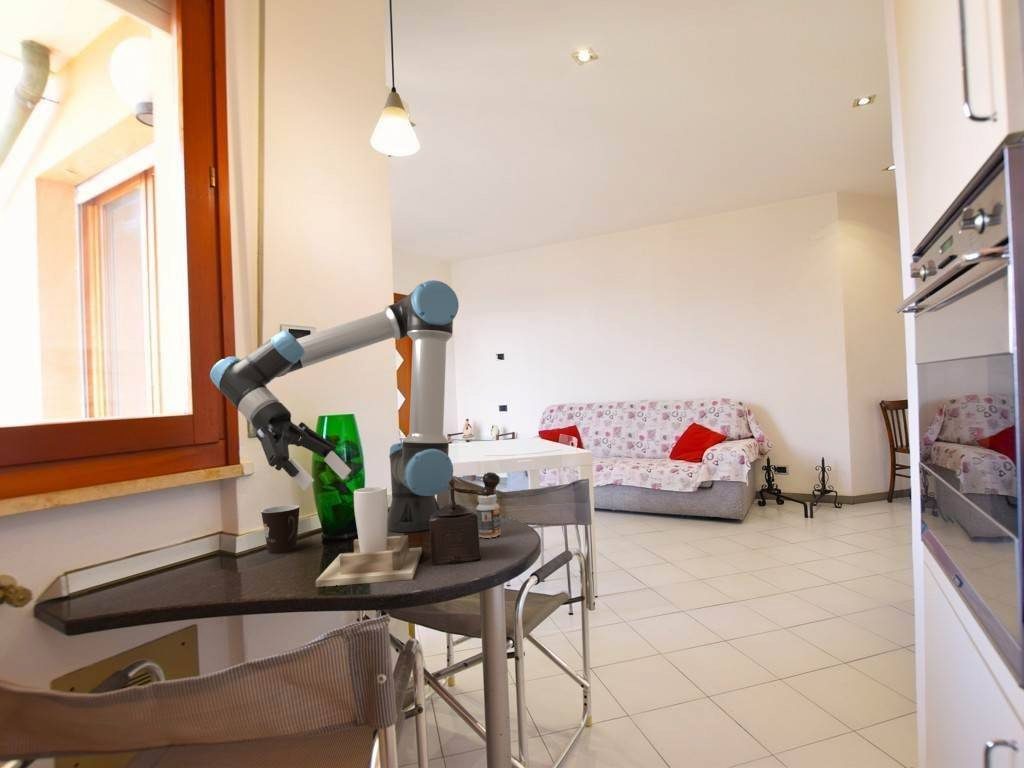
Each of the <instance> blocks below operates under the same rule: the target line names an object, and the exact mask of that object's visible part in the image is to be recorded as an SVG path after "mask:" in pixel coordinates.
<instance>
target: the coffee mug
mask: <svg viewBox="0 0 1024 768" xmlns="http://www.w3.org/2000/svg"><path fill="white" fill-rule="evenodd" d="M300 508H301V507H300V505H297V504H287V505H286V504H285V505H284V504H283V505H277V506H270V507H267V508H264V509H261V510H260V513H261V519H262V524H263V525H262V526H263V530H264V536H265V542H266V543H265V544H266V548H267V553H268V554H269V555H270V554H271V555H275V554H276V555H279V554H285V553H289V552H293V551H295V550H296V549H297V548H298V547H297V546H298V533H299V522H300V521H299V519H300Z"/></svg>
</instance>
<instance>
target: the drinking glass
mask: <svg viewBox="0 0 1024 768" xmlns="http://www.w3.org/2000/svg"><path fill="white" fill-rule="evenodd" d="M388 504H389V502H388V491H387V487H385V486H368V487H363V488H362V487H361V488H357V489H354V490H353V507H354V508H353V510H354V517H355V518H354V519H355V524H356V526H355V527H356V530H357V531H356V532H357V539H358V540H359V547H360V553H365V552H378V551H387V537H388V529H387V521H388V514H389V506H388Z"/></svg>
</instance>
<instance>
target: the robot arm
mask: <svg viewBox="0 0 1024 768" xmlns="http://www.w3.org/2000/svg"><path fill="white" fill-rule="evenodd" d="M458 311H459V298H458V296H457V294H456V292H455V291H454V290H453V289H452V287H451V286H449V285H448V284H447V283H445V282H443V281H440V280H433V279H432V280H426V281H424V282H422V283H420V284H418V285H417V286H415V288H414V289H413V290H412V291H411V292H410V293H409V294H408V295H406V296H405V297H404V298H402V299H401V300H398V301H396V302H395V303H392V304H390V305H387V306H385V307H384V309H383V311H380V312H377V313H374V314H371V315H368V316H365V317H361V318H358V319H355V320H352V321H349V322H346V323H343V324H340V325H336V326H332V327H331V328H326V329H324V330H320V331H318V332H314V333H311V334H308V335H305V336H302V337H299V338H296V337H294V336H293V334H292V333H290V332H289V331H287V330H282V331H280V332H278V333H277V334H276V335H272V336H271V337H270V339H268V340H266V342H264V343H263V344H261V346H259V347H257V348H256V349H255V350H253V351H252V352H251V353H250V354H249V355H247V356H246V357H243V358H242V359H241V358H238V357H237V356H227V357H225V358H223V359H222V358H221V359H220V360H219V361H217V362H216V363H214V365H213V367H212V368H211V370H210V374H209V377H210V380H211V382H212V383H213V384H214V385H215V386H216V388H217V389H218V391H219V392H220V393H221V394H222V395H224V397H225V398H226V399H227V400H228V401H229V402H230V403H231V405H233V406H234V408H236V409H237V410H238V411H239V412H240V413H241V414H242V415H243V416H244V418H245V420H247V421H248V422H249V423H250V424H251V425H252V427H254V429H255V430H256V431H257V432H256V433H255V437H256V438H257V440H258V441H260V444H261V447H262V450H263V452H264V455H265V458H266V460H267V462H268V465H269V467H271V468H274V469H275V470H276V471H280V472H281V470H282V469H283V471H285V472H286V473H287V475H288V476H289V477H291V478H292V480H293V481H294V482H295V483H297V485H298V486H299V487H300V489H302V490H303V491H307V490H308V489H309V488H310V487H311V486H312V484H313V483H314V482H315V479H314V478H313V477H312V476H311V475H310V474H309V473H308V471H306V469H304V468H303V466H302V465H301V464H300V463H299V462H298V461H297V460H296V459H295V458H294V457H293V458H292V457H291V458H290V451H289V446H290V445H292V446H294V445H295V446H296V447H303V448H305V449H307V450H309V451H311V452H312V453H315V454H316V455H318V456H321V457H322V458H324V459H323V461H324V462H325V463H326V465H328V466H329V467H330V468H331V469H332V471H334V473H335V474H336V475H337V476H338V477H339V478H340V479H341V480H346V478H347V477H348V476H349V474H350V473H351V472H352V469H351V468H350V467H349V466H348V465H347V464H346V463H345V462H344V460H342V459H341V458H340V457H339V455H337V454H336V453H335V450H336V449H337V446H336V445H335V444H333V443H332V442H330V440H328V439H327V438H325V437H323V436H322V435H321V434H318V433H317V432H315V431H314V430H313V429H311V428H310V427H309V426H308V425H306V423H305V422H302V421H301V422H300V423H299V424H298V425H296V424H295V423H293V422H292V420H291V419H292V413H291V411H290V410H289V409H288V408H287V407H286V406H285V405H284V403H282V402H280V400H279V399H278V397H277V396H275V395H274V394H273V393H272V392H271V390H269V388H267V386H266V385H267V384H270V382H271V381H273V380H274V379H275V378H280V377H285V376H286V375H287V374H290V373H293V372H296V371H298V370H301V369H304V368H306V367H309V366H313V365H315V364H318V363H321V362H325V361H327V360H330V359H333V358H336V357H339V356H341V355H345V354H348V353H351V352H354V351H357V350H360V349H363V348H366V347H368V346H372V345H374V344H377V343H380V342H383V341H386V340H387V341H388V340H389V339H395V340H398V341H399V340H401V339H405V338H407V337H409V338H410V339H411V340H412V347H411V348H412V352H411V355H412V356H411V377H410V379H411V380H410V405H409V427H408V429H409V432H408V434H407V436H406V437H405V438H403V440H402V442H399V443H398V442H397V443H394V444H392V445H391V446H390V448H389V465H390V482H391V503H390V507H389V509H388V521H387V531H390V532H394V533H396V532H397V533H412V532H414V533H415V532H421V531H427V530H430V523H429V519H430V513H431V511H435V510H440V509H441V507H439V503H438V500H437V498H436V495H439V494H441V493H442V492H443V491H445V490H446V489H447V488H448V487H449V486H450V484H449V481H450V480H451V479H452V480H453V476H454V465H453V462H452V460H451V458H450V456H449V450H450V449H449V446H450V445H449V443H450V440H448V438H446V436H445V435H444V424H445V423H444V421H445V420H444V419H445V418H444V416H445V391H446V390H445V389H446V387H445V385H446V362H447V361H446V360H447V358H446V357H447V342H448V341H449V340H450V339H451V338H453V331H454V330H453V328H454V327H453V326H454V322H453V321H454V320H455V318H456V317H457V314H458Z"/></svg>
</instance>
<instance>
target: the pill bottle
mask: <svg viewBox="0 0 1024 768" xmlns="http://www.w3.org/2000/svg"><path fill="white" fill-rule="evenodd" d="M497 501H498V497H497V494H495V495H490V496H488V497H487V496H482V495H478V496H477V502H478V505H477V506H476V508H475V509H476V511H477V515H478V530H479V536H480V537H493V536H497V535H500V534H501V535H502V528H501V527H502V525H501V510H500V508H501V507H500V504H499V503H497ZM501 535H500V536H501ZM480 537H479V538H480Z"/></svg>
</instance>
